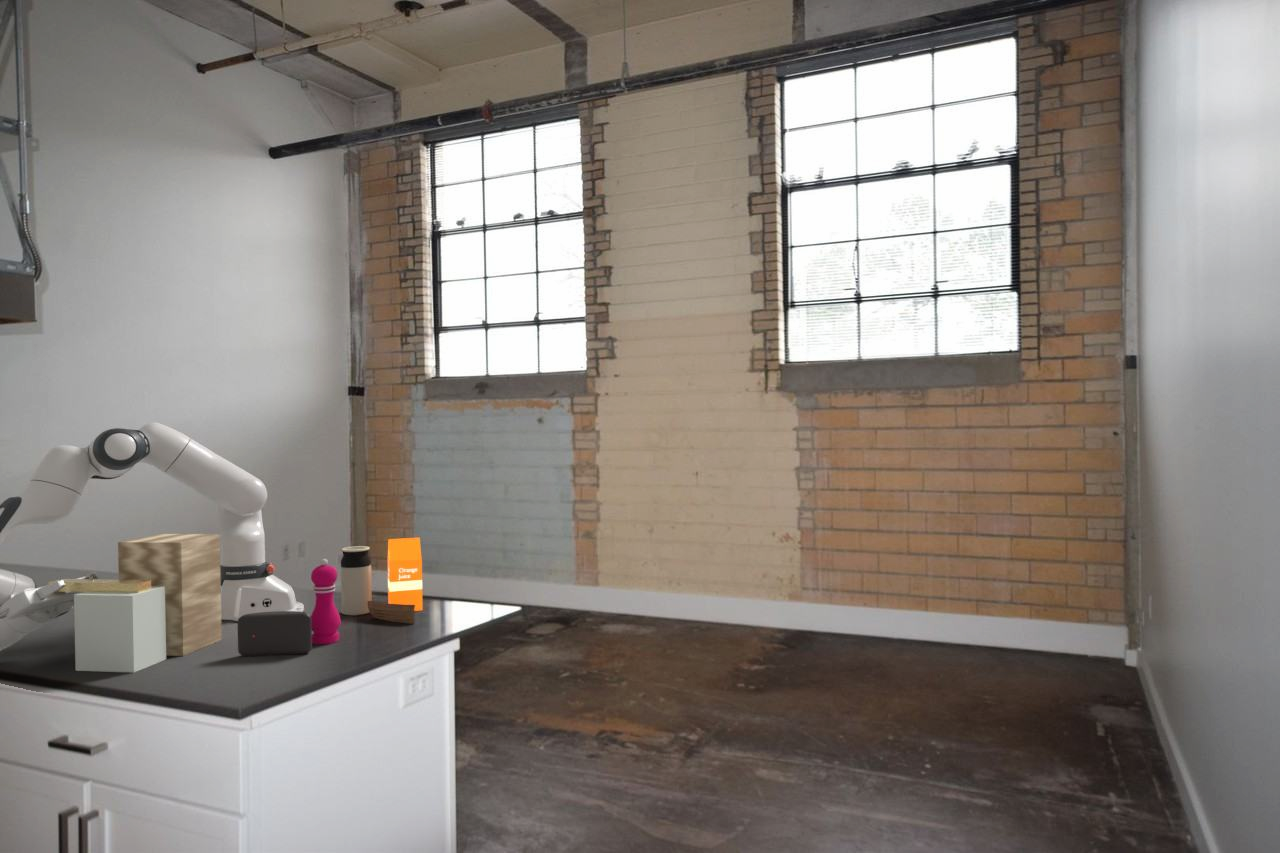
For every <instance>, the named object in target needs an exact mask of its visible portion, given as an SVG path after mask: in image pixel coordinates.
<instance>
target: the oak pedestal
mask: <svg viewBox="0 0 1280 853" xmlns="http://www.w3.org/2000/svg"><path fill="white" fill-rule="evenodd" d="M117 552H118V553H117V555H118V556H117V558H118V580H151V586H163V587H165V617H166V656H174V657H177V656H178V657H179V656H180V657H184V656H186V655H189V654H192V653H193V652H196V651H199V650H201V649H204V648H206V647H208V646H210V645H213V644H215V642H216V643H217V642H220V641H222V640H223V639H222V638H223V637H222V636H223V634H222V633H223V632H222V619H221V578H220V565H221V534H219V533H213V534H212V533H159V534H153V535H148V536H143V537H138V538H132V539H127V540H123V541H118V542H117Z"/></svg>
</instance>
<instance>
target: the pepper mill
mask: <svg viewBox="0 0 1280 853" xmlns="http://www.w3.org/2000/svg"><path fill="white" fill-rule="evenodd" d="M328 563H329V562H328V559H327V558H322V559H321V560H320V562H319V564H320V565H318V566H316V567H315V568H314V569H312V571H311V574H310V580H311V582H312V583H313V585H314V586H313V592H314V594H315V605H314V609H313V611H312V613H311V614H310V616H311V623H312V645H329V644H334V643H336V642H338V641H339V640H340V633H339V631H338V629H339V628H340V627H341V623H342V620H341V616H340V613H339V612H338V609H337V607H336V605H335V600H334V592H335V591H336V584H335V582H336V581H337V579H338V571H337V569H336V568H335V567H334V566H332V565H329V564H328Z"/></svg>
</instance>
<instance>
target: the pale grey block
mask: <svg viewBox="0 0 1280 853" xmlns="http://www.w3.org/2000/svg"><path fill="white" fill-rule="evenodd" d="M73 609H74V610H73V612H74V653H75V654H74V655H75V656H74V657H75V658H74V660H75V671H76V672H102V673H103V672H106V673H137V672H138V671H141V670H144V669H146V668H149V667H151V666H154V665H156V664H159V663H160V662H161V663H162V662H163V661H166V660H167V655H166V617H165V587H163V586H151V589H150V590H146V591H143V592H139V593H121V592H83V593H79V594H75V595H74V606H73Z"/></svg>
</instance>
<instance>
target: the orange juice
mask: <svg viewBox="0 0 1280 853" xmlns="http://www.w3.org/2000/svg"><path fill="white" fill-rule="evenodd" d="M422 559H423V558H422V549H421V537H408V538H407V537H405V538H403V537H402V538H389V539H388V540H387V600H388V604H403V605H415V609H414V610H415V612H418V611H423V560H422Z"/></svg>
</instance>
